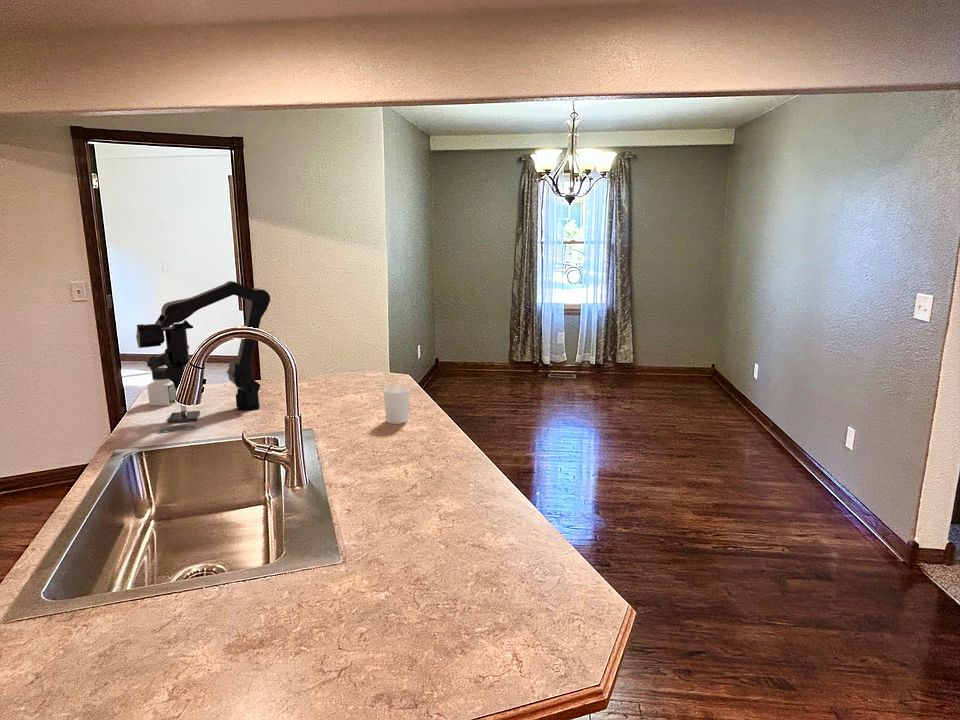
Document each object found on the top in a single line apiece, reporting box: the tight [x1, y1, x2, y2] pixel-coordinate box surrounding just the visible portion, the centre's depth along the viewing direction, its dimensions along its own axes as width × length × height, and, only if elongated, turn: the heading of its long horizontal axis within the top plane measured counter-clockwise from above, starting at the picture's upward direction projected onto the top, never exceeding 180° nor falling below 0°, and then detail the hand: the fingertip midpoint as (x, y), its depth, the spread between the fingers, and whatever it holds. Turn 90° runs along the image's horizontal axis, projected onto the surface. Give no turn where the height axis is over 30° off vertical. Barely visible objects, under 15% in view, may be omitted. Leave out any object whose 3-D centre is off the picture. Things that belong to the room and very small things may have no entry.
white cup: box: [383, 385, 410, 425], centre depth 185 cm, size 8×8×10 cm
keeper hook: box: [167, 405, 201, 424], centre depth 186 cm, size 8×8×5 cm
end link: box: [169, 384, 176, 401], centre depth 185 cm, size 6×6×4 cm
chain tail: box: [159, 422, 195, 433], centre depth 176 cm, size 9×2×1 cm, turn 116°
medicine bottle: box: [146, 366, 177, 407], centre depth 202 cm, size 7×7×12 cm
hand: (182, 393), depth 185 cm, fingers closed on end link, 6 cm apart
